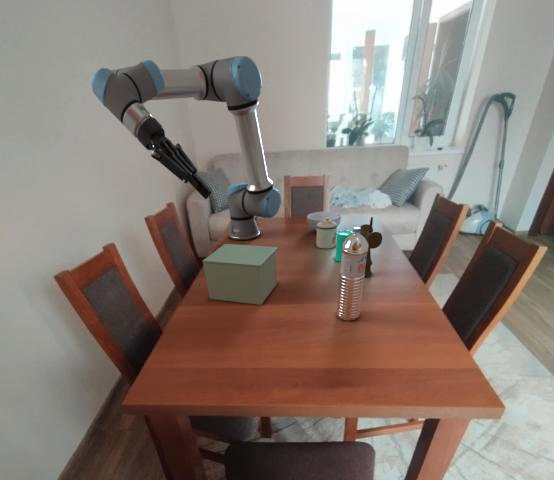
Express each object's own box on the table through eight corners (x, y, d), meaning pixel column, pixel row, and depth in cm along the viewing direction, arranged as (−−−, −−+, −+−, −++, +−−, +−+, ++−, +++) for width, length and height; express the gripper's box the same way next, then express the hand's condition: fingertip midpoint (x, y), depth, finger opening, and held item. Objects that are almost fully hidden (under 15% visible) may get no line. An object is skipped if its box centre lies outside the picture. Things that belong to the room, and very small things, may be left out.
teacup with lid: (336, 248, 144) (338, 220, 136) (315, 249, 144) (316, 221, 137) (335, 240, 153) (337, 213, 146) (315, 240, 154) (316, 213, 146)
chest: (277, 283, 118) (275, 249, 110) (261, 304, 106) (258, 267, 98) (230, 279, 123) (225, 246, 115) (209, 299, 111) (202, 263, 103)
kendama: (367, 269, 125) (374, 212, 112) (377, 279, 117) (386, 219, 105) (352, 270, 124) (358, 214, 111) (361, 281, 116) (368, 221, 104)
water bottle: (345, 323, 94) (354, 233, 79) (331, 313, 99) (337, 227, 84) (364, 317, 97) (376, 228, 81) (350, 308, 101) (359, 222, 86)
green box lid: (277, 249, 110) (277, 247, 110) (260, 268, 98) (260, 265, 97) (225, 245, 115) (225, 243, 115) (202, 263, 103) (202, 260, 103)
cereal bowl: (308, 225, 173) (308, 211, 169) (339, 225, 171) (340, 210, 167) (305, 235, 160) (305, 220, 156) (340, 235, 158) (341, 219, 154)
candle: (351, 257, 135) (354, 226, 127) (347, 262, 131) (350, 231, 123) (337, 255, 137) (339, 225, 129) (333, 260, 133) (335, 229, 125)
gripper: (135, 116, 85) (204, 189, 91) (164, 115, 94) (224, 181, 100) (125, 142, 90) (191, 210, 95) (153, 138, 99) (212, 200, 105)
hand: (208, 195), depth 98 cm, fingers closed
